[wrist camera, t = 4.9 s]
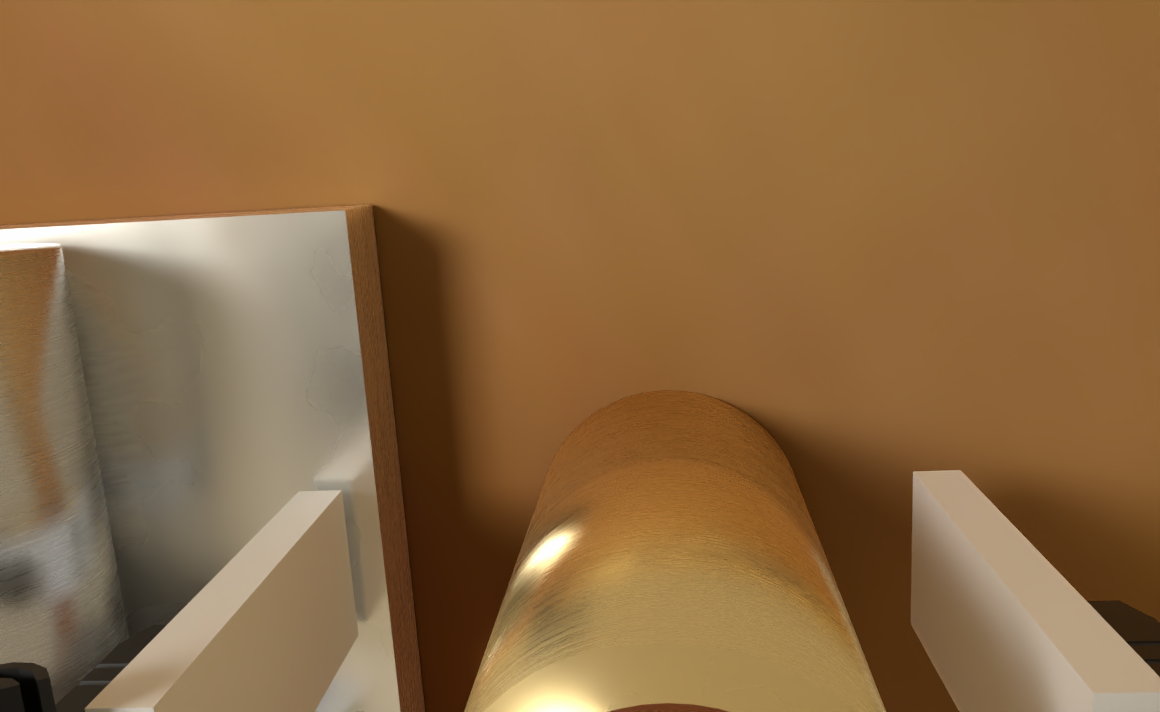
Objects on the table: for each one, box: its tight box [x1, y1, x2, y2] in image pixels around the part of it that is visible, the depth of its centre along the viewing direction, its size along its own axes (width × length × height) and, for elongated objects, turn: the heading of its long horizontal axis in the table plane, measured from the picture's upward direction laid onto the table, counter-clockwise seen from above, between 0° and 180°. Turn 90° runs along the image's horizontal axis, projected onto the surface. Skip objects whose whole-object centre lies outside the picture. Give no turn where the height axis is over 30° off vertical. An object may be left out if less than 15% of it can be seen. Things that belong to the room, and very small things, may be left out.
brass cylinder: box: [464, 391, 886, 712], centre depth 13 cm, size 5×5×10 cm
